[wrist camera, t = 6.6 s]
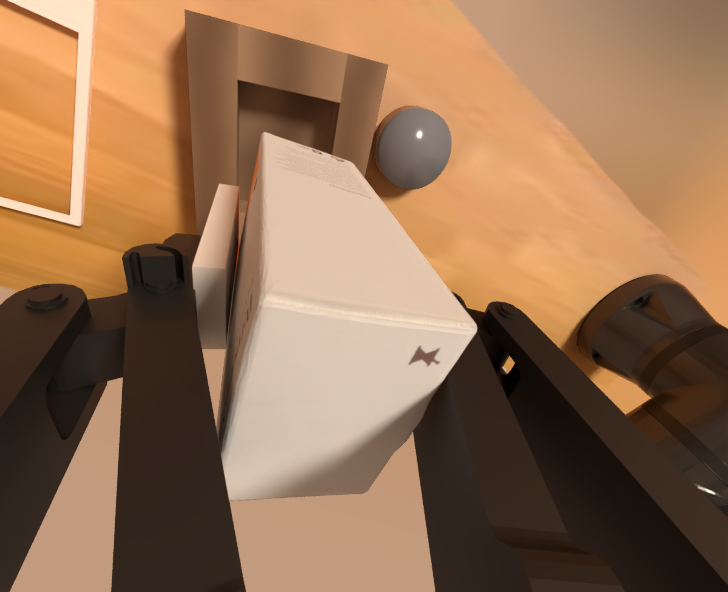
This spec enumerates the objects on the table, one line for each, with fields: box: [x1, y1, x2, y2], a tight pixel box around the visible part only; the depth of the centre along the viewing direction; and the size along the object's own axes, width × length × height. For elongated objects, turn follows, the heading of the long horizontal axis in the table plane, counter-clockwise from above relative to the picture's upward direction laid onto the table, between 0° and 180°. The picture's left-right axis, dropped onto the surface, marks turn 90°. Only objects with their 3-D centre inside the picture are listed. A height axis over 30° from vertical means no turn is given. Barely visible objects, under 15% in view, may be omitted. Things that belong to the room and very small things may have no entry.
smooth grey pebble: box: [373, 106, 451, 190], centre depth 28 cm, size 6×6×2 cm
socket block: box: [185, 10, 388, 244], centre depth 25 cm, size 12×14×3 cm
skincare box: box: [216, 132, 477, 501], centre depth 12 cm, size 6×4×12 cm
